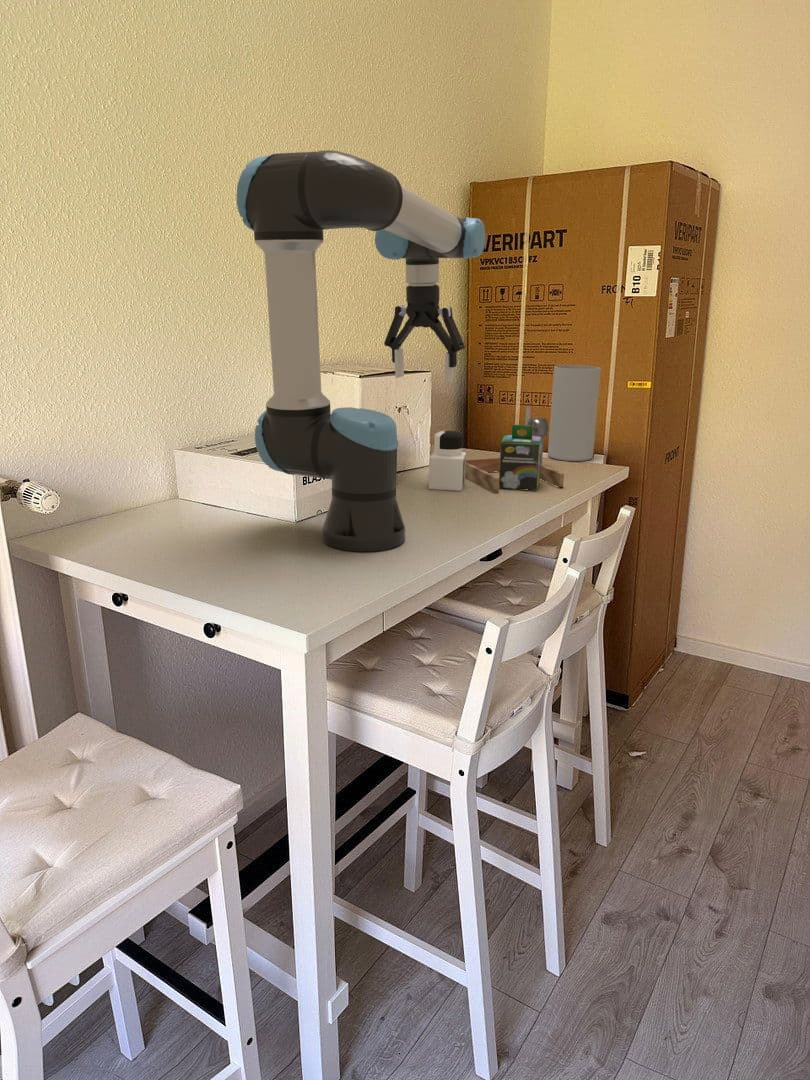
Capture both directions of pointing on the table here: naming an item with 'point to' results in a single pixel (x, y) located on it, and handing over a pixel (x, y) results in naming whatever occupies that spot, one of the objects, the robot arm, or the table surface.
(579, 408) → the cylinder vase
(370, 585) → the table surface
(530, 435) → the chalk box
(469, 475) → the bay
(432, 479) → the container
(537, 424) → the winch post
